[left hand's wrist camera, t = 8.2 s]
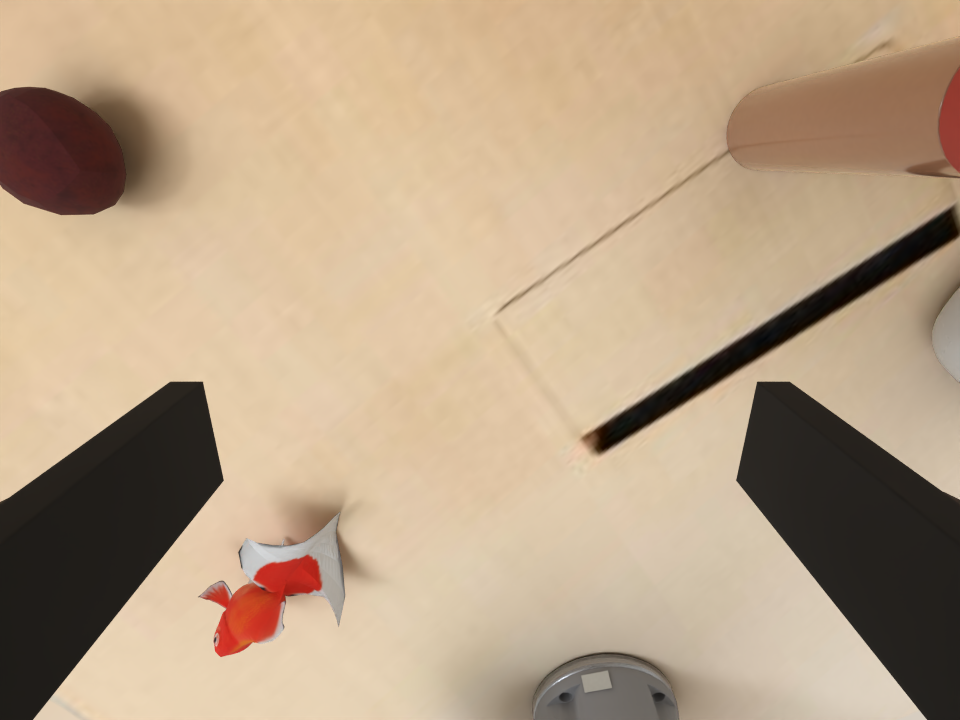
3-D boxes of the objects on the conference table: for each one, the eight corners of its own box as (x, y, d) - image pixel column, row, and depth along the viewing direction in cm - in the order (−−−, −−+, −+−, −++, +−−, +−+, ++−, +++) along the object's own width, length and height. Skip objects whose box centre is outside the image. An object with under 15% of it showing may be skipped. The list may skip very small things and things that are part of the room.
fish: (144, 575, 44) (149, 675, 36) (299, 455, 47) (333, 524, 40) (230, 623, 50) (249, 717, 43) (360, 515, 54) (399, 584, 46)
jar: (715, 110, 35) (968, 57, 17) (794, 69, 34) (1148, -33, 16) (739, 184, 37) (991, 208, 19) (814, 146, 36) (1154, 134, 18)
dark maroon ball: (87, 71, 34) (-6, 50, 28) (173, 174, 37) (106, 177, 30) (15, 138, 36) (-90, 133, 29) (102, 233, 38) (23, 248, 31)
